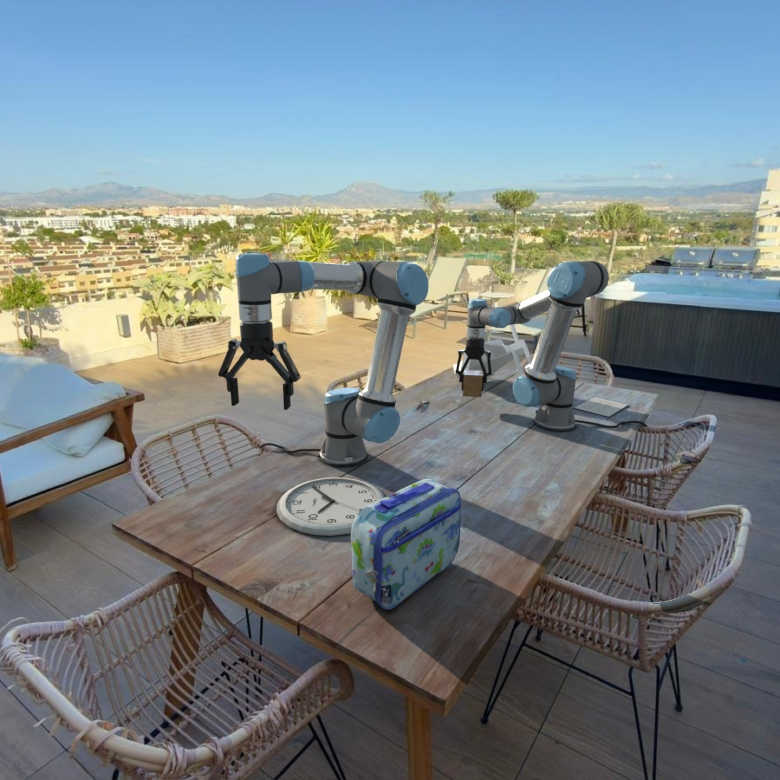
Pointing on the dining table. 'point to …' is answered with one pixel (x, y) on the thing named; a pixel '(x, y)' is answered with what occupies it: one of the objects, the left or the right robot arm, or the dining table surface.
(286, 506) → the wall clock
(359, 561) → the lunch box
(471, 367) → the white plastic object
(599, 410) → the invitation card
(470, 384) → the brown block
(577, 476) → the dining table surface
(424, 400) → the fork
